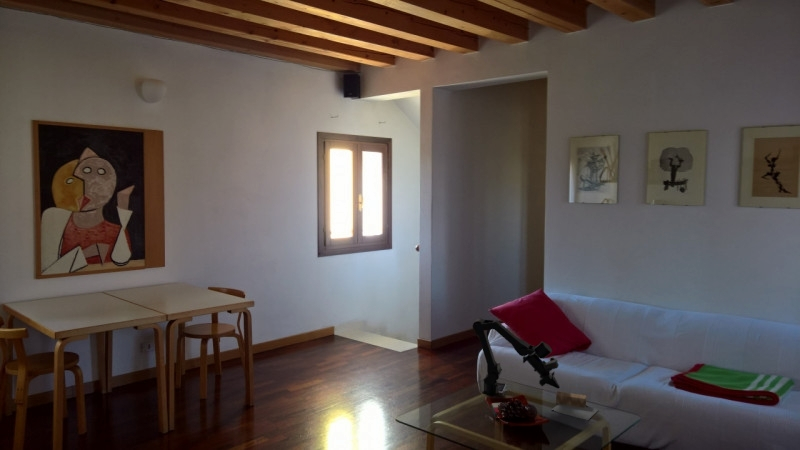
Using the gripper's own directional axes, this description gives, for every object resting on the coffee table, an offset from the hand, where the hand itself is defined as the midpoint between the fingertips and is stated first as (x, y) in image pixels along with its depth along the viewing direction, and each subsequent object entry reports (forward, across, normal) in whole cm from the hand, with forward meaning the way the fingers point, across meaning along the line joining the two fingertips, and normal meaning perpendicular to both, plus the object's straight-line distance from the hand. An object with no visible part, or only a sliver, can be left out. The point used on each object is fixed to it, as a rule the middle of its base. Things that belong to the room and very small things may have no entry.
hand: (559, 387), depth 296 cm
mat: (+11, -7, 0) cm, 13 cm away
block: (+3, 0, +4) cm, 5 cm away
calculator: (-9, -22, +21) cm, 31 cm away
